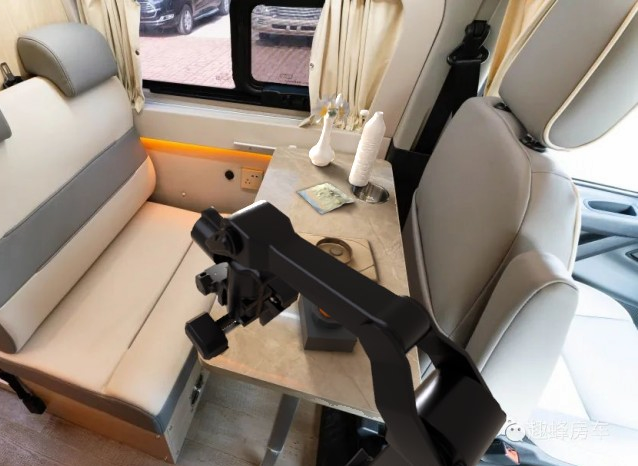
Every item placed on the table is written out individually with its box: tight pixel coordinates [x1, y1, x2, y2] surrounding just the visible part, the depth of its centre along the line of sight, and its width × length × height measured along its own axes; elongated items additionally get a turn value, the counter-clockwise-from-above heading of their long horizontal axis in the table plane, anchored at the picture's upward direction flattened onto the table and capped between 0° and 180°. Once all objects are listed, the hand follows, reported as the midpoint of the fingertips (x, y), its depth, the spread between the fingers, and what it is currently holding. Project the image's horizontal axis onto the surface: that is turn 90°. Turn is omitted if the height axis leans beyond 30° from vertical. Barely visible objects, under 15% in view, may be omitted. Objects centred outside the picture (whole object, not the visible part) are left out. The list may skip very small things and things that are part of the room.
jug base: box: [297, 293, 359, 353], centre depth 71 cm, size 12×10×7 cm
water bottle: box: [348, 109, 387, 187], centre depth 108 cm, size 9×6×25 cm
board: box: [296, 232, 379, 283], centre depth 89 cm, size 25×15×3 cm, turn 82°
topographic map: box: [297, 182, 355, 215], centre depth 109 cm, size 14×14×2 cm
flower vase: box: [309, 93, 351, 167], centre depth 119 cm, size 13×18×25 cm
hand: (241, 337), depth 57 cm, fingers open, 9 cm apart
